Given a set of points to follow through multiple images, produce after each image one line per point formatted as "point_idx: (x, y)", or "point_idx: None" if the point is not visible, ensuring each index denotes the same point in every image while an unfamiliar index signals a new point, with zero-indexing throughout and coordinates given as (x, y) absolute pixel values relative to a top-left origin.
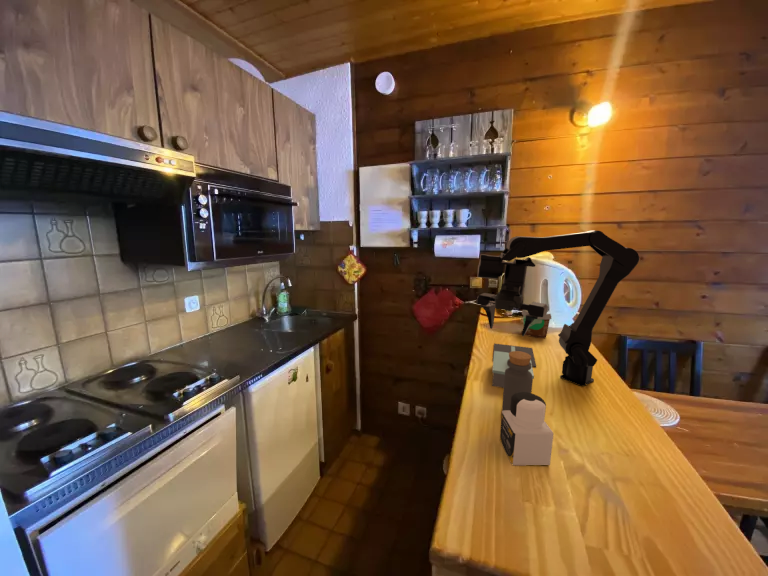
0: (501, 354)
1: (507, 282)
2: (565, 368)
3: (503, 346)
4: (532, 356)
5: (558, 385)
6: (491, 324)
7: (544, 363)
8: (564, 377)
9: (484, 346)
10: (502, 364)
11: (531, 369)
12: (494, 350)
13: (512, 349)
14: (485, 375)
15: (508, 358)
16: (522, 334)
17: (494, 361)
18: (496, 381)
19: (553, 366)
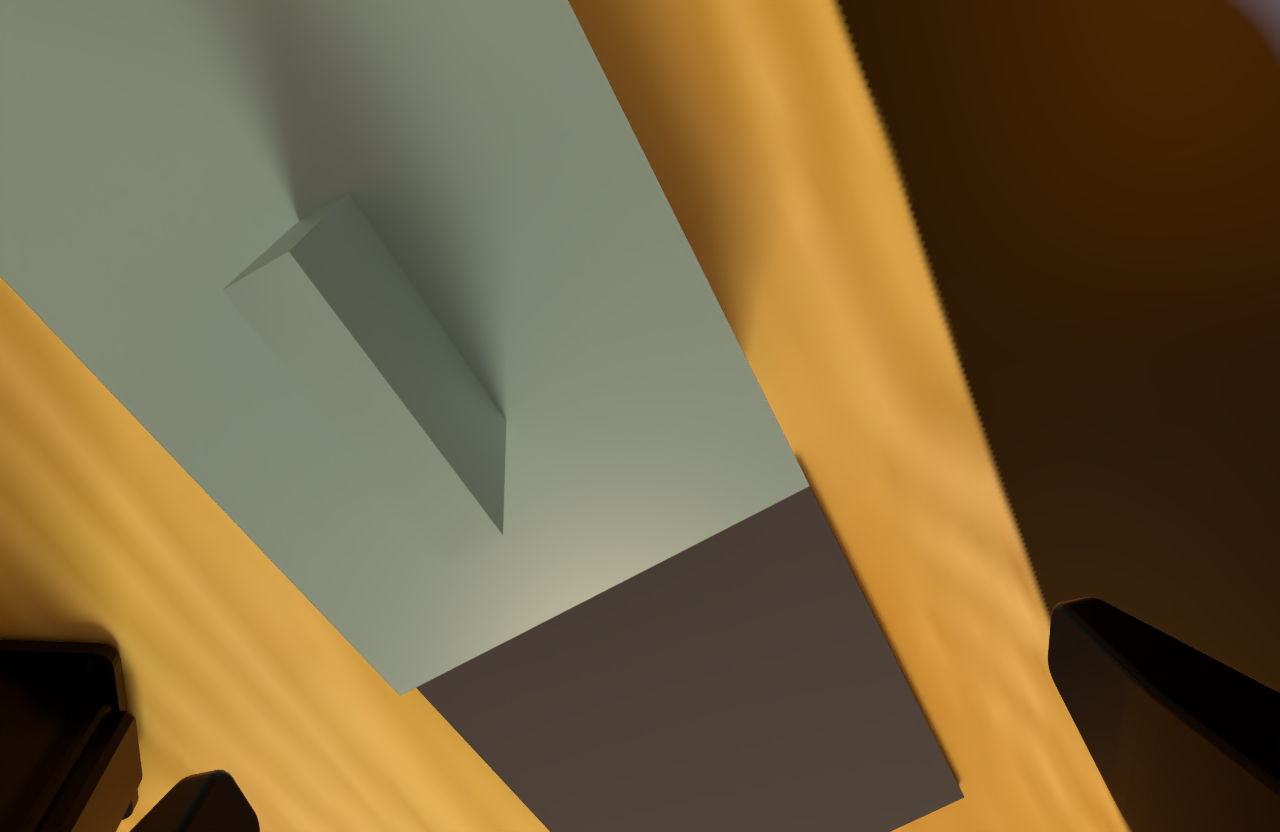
0: (674, 456)
1: None
2: (49, 761)
3: (865, 803)
4: (556, 817)
5: (3, 490)
6: (1146, 682)
7: (411, 787)
8: (61, 660)
9: (1018, 693)
10: (458, 127)
11: (59, 314)
12: (895, 678)
13: (385, 412)
14: (679, 59)
15: (528, 408)
16: (178, 810)
17: (613, 135)
18: None
19: (320, 793)
